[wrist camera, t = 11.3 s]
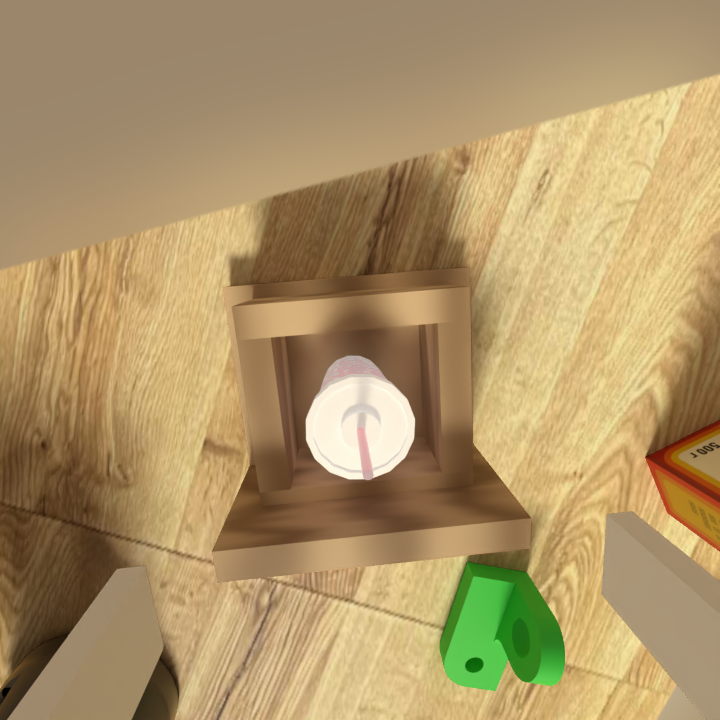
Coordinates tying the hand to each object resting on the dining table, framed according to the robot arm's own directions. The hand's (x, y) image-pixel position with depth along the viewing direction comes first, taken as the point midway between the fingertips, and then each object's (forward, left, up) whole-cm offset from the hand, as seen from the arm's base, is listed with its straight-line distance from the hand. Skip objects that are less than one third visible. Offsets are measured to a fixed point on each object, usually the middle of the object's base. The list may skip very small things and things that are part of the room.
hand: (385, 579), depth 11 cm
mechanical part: (+10, -25, -22) cm, 35 cm away
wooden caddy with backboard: (0, 0, -22) cm, 22 cm away
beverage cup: (0, 0, -20) cm, 20 cm away
